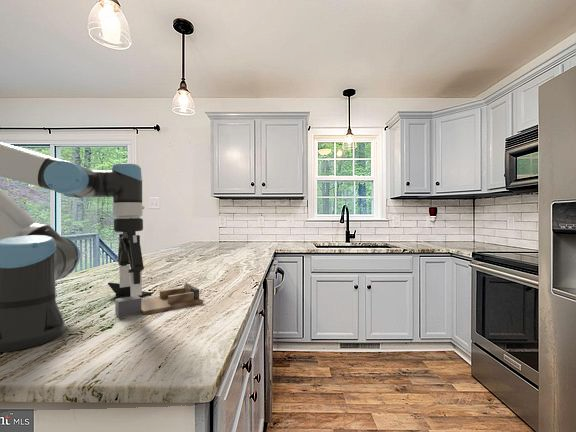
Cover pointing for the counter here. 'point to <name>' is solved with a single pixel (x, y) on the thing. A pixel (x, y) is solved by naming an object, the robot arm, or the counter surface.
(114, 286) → the black angled piece
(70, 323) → the counter surface
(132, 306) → the plug block
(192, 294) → the header board
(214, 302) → the counter surface
